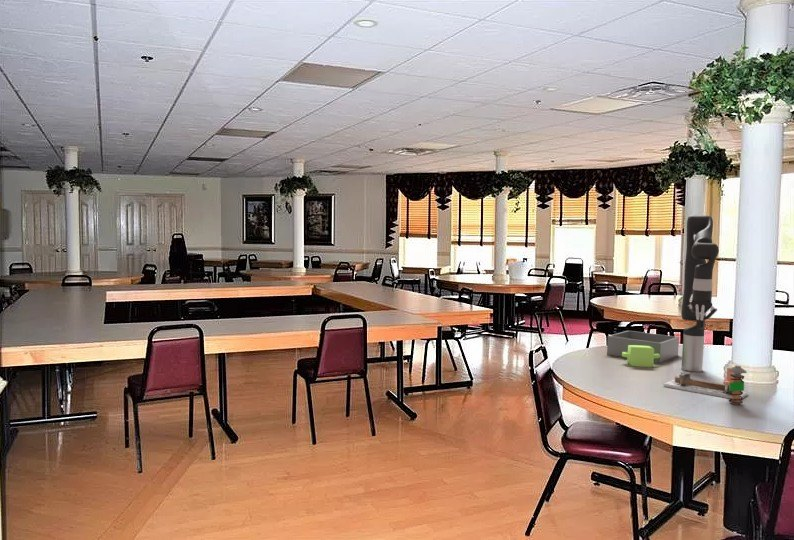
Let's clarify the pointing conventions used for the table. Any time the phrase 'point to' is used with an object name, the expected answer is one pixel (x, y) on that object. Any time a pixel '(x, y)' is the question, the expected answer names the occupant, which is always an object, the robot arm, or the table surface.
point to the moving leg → (728, 378)
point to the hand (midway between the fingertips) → (699, 328)
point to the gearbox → (640, 355)
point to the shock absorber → (736, 384)
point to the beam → (698, 382)
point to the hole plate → (701, 389)
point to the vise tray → (643, 344)
